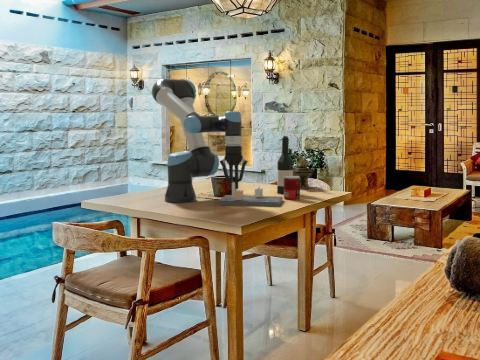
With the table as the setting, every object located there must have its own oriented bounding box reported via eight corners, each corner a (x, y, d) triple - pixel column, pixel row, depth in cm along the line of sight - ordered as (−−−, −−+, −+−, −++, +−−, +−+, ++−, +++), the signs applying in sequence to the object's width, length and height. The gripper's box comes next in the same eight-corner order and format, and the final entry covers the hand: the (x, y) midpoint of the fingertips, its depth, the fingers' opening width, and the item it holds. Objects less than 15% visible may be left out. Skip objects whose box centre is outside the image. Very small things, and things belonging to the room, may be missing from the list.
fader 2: (254, 197, 246) (254, 188, 246) (256, 195, 251) (256, 186, 250) (261, 197, 246) (261, 188, 245) (262, 195, 250) (262, 186, 250)
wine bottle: (274, 192, 275) (274, 136, 272) (288, 191, 279) (288, 135, 275) (281, 194, 268) (282, 136, 264) (295, 193, 271) (296, 136, 267)
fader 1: (234, 199, 239) (234, 190, 238) (236, 198, 244) (236, 189, 243) (241, 200, 238) (241, 190, 238) (243, 198, 243) (243, 189, 243)
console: (218, 204, 239) (218, 200, 239) (225, 199, 255) (225, 195, 255) (278, 206, 234) (278, 202, 234) (282, 200, 250) (282, 196, 250)
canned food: (299, 200, 251) (299, 177, 250) (282, 199, 253) (282, 177, 251) (300, 197, 259) (300, 175, 257) (284, 197, 260) (284, 175, 259)
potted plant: (288, 185, 302) (288, 151, 299) (304, 185, 303) (305, 151, 300) (296, 190, 282) (296, 154, 280) (313, 190, 283) (314, 154, 281)
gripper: (217, 145, 236) (218, 197, 238) (245, 145, 233) (246, 197, 236) (221, 144, 243) (222, 194, 246) (248, 144, 240) (249, 195, 243)
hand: (234, 196), depth 241 cm, fingers closed
